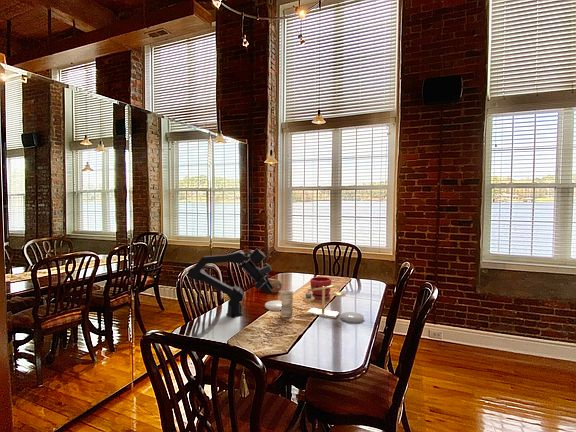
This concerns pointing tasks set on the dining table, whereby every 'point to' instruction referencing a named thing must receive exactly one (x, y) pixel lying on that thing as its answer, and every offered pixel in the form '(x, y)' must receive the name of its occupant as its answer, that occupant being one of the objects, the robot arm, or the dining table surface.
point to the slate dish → (352, 317)
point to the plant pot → (318, 283)
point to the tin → (275, 285)
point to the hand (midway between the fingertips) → (272, 290)
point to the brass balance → (323, 302)
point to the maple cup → (287, 303)
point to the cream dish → (274, 305)
